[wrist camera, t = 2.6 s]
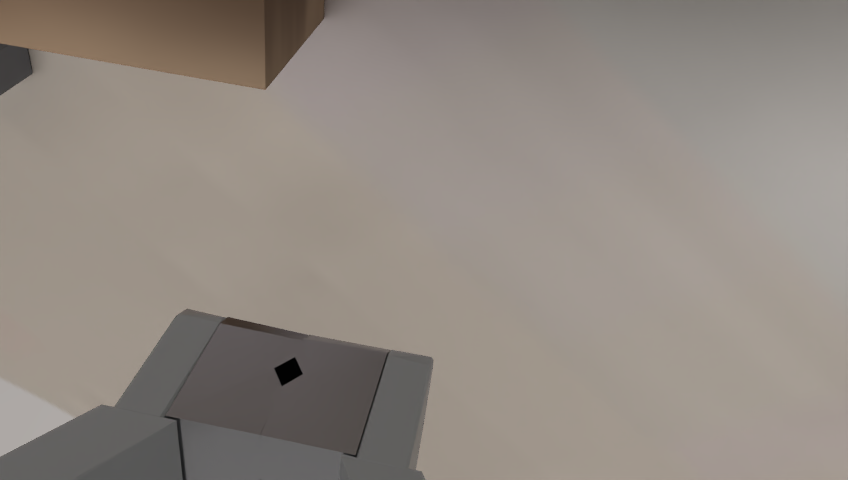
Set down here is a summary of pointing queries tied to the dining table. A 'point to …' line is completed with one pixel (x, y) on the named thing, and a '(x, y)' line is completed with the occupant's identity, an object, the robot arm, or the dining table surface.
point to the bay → (13, 66)
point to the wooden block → (169, 34)
